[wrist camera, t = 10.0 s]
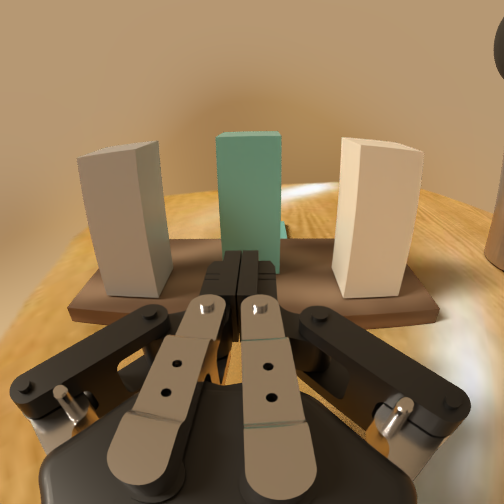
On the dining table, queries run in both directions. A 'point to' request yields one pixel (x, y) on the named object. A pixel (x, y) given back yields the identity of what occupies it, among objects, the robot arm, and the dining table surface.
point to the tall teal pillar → (250, 192)
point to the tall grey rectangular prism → (127, 218)
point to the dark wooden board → (288, 284)
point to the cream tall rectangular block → (375, 216)
